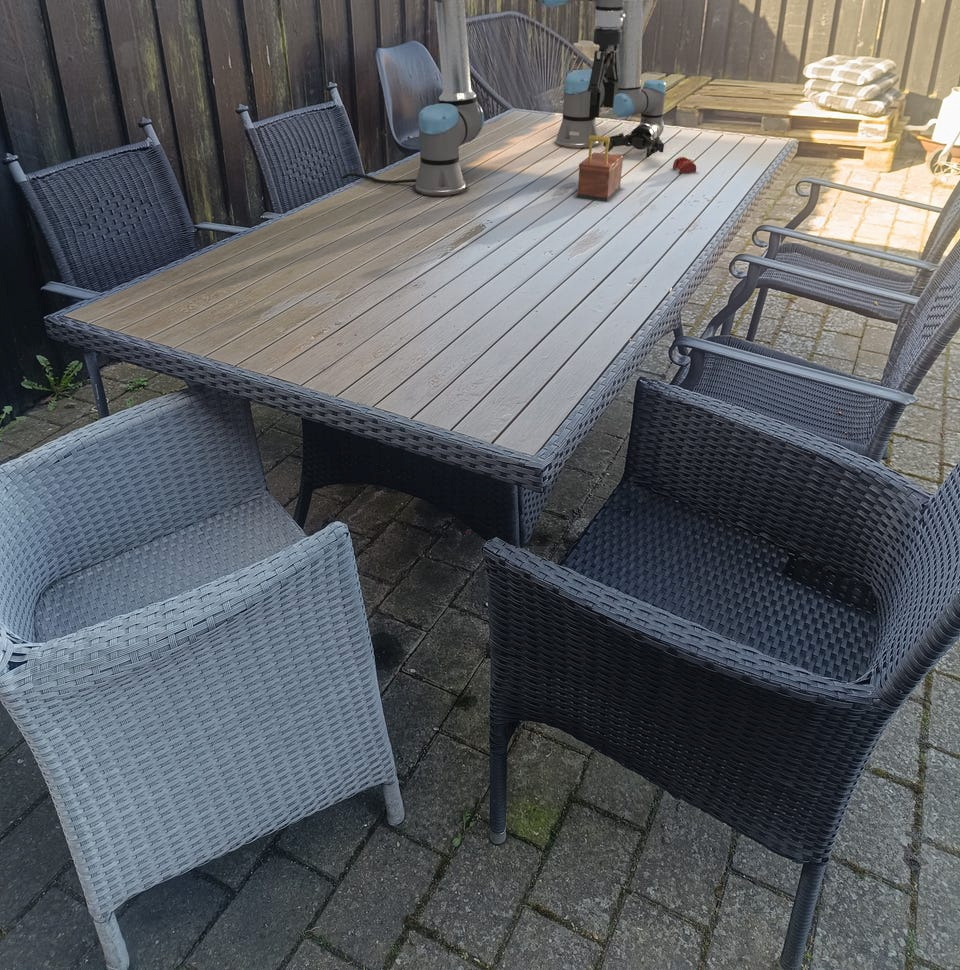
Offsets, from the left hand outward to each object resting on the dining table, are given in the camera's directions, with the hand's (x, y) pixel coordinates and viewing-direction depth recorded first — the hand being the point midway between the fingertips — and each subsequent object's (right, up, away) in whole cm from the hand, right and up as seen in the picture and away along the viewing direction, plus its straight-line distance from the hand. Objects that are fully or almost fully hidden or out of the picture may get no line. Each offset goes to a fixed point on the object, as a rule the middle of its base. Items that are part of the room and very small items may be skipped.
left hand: (601, 112), depth 239 cm
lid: (+2, -10, +12) cm, 15 cm away
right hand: (+13, +2, +32) cm, 35 cm away
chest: (+2, -17, +17) cm, 24 cm away
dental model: (+32, -3, +36) cm, 49 cm away
